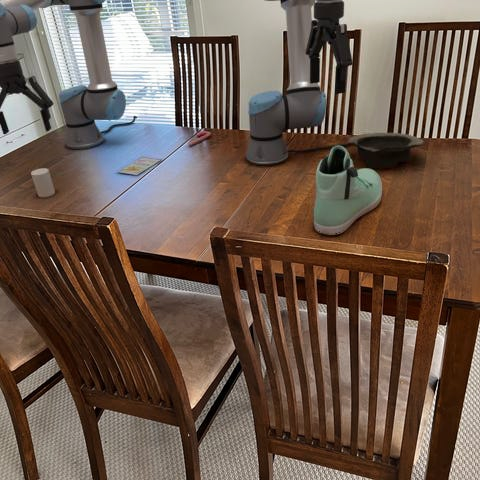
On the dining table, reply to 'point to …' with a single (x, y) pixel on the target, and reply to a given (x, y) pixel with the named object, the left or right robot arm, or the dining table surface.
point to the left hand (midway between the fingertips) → (27, 131)
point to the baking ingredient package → (138, 166)
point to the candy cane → (206, 135)
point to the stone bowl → (384, 148)
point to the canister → (43, 182)
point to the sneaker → (343, 192)
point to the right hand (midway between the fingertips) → (326, 87)
